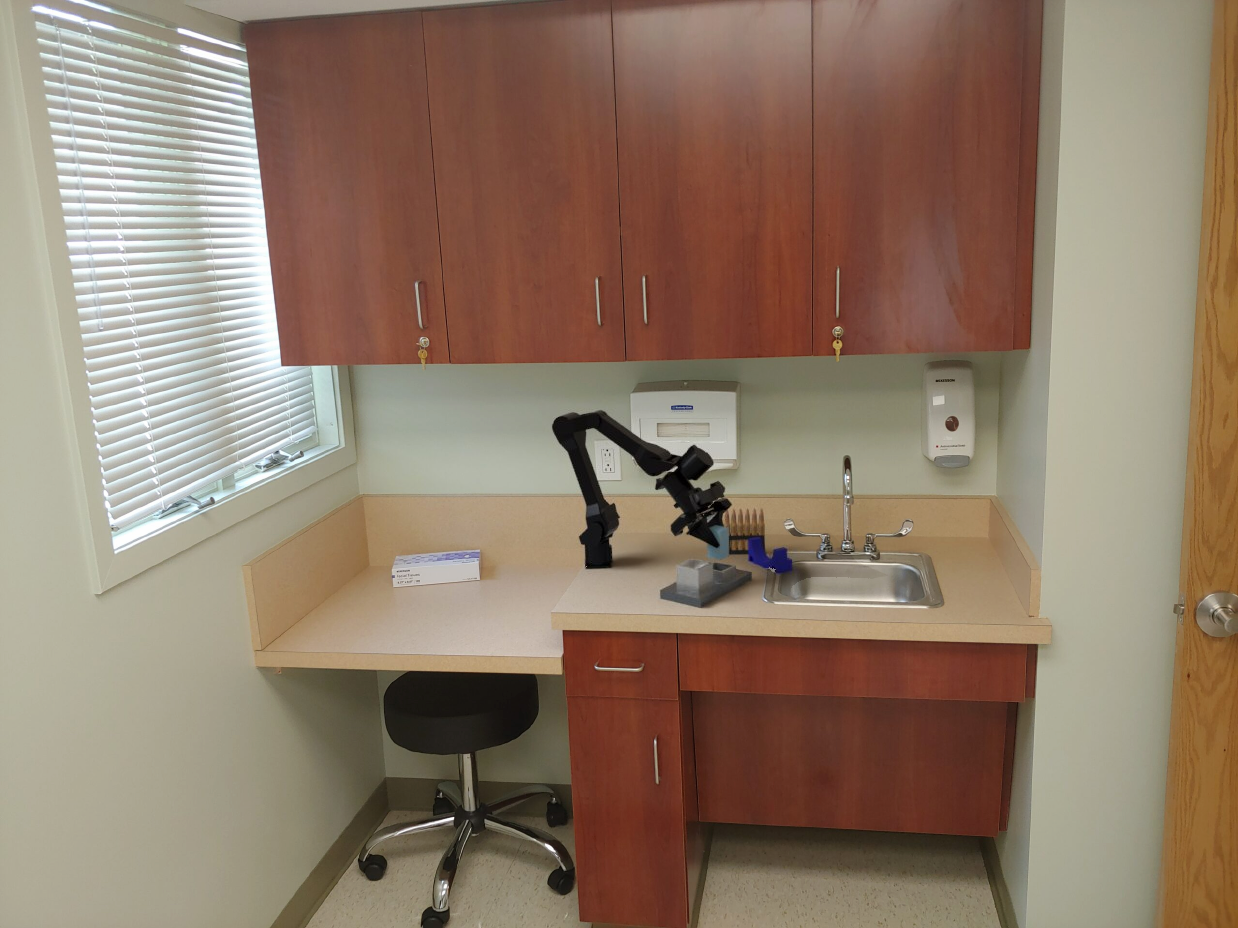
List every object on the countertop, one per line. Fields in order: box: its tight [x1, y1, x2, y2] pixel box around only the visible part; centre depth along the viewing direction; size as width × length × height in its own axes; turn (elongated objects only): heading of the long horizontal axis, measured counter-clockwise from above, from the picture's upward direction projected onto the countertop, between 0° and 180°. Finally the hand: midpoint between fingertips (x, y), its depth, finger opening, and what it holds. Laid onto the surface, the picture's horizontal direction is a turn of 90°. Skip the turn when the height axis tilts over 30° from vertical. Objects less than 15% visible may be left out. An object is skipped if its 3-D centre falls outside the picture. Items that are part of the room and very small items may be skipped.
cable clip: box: [747, 537, 793, 575], centre depth 242 cm, size 12×4×6 cm, turn 28°
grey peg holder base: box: [659, 557, 753, 609], centre depth 227 cm, size 22×11×8 cm, turn 142°
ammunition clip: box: [723, 507, 766, 556], centre depth 252 cm, size 11×2×12 cm, turn 86°
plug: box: [706, 525, 730, 561], centre depth 230 cm, size 4×4×7 cm
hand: (723, 544), depth 229 cm, fingers closed on plug, 4 cm apart
